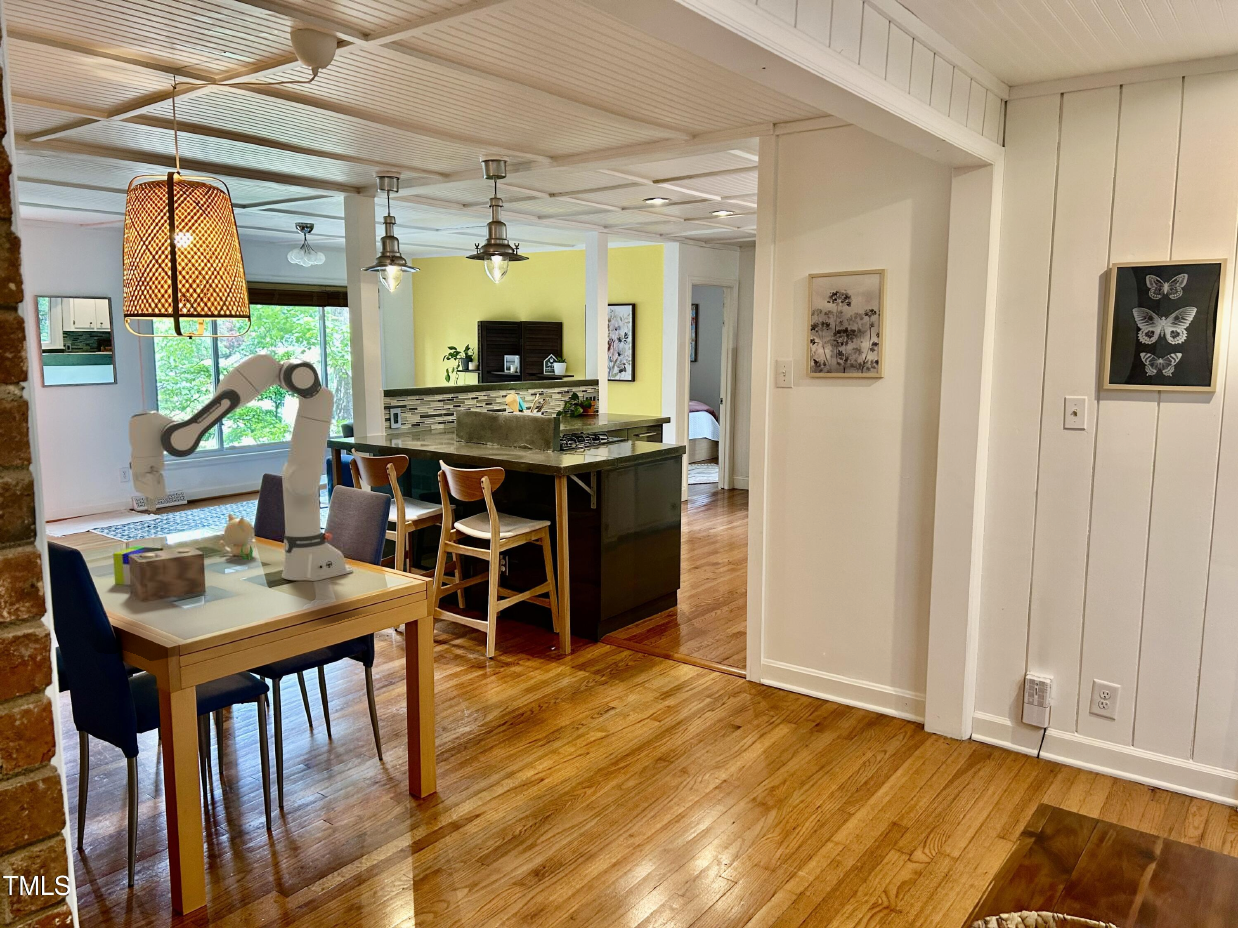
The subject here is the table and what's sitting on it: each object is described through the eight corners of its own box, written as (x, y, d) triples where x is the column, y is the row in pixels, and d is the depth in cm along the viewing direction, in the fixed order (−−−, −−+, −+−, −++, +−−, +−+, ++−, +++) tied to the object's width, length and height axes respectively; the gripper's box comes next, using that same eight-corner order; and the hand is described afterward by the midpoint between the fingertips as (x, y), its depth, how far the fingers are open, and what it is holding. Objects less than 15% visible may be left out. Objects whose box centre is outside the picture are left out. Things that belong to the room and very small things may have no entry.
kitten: (264, 556, 318) (262, 515, 316) (237, 561, 310) (235, 519, 308) (245, 549, 328) (243, 510, 326) (218, 554, 320) (216, 514, 318)
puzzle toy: (142, 585, 277) (140, 555, 276) (115, 583, 279) (113, 553, 278) (164, 578, 287) (163, 548, 286) (138, 576, 289) (136, 546, 288)
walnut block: (193, 583, 281) (191, 545, 279) (205, 591, 272) (203, 552, 271) (131, 593, 269) (128, 553, 267) (141, 601, 260) (139, 561, 259)
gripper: (169, 467, 259) (173, 513, 260) (149, 460, 273) (153, 504, 275) (146, 469, 254) (150, 516, 256) (127, 462, 269) (131, 506, 271)
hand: (151, 510), depth 266 cm, fingers closed
